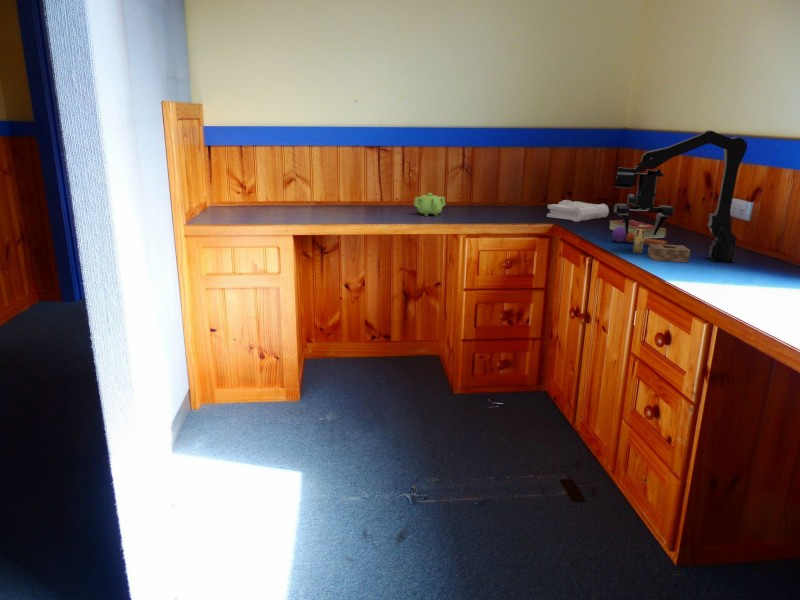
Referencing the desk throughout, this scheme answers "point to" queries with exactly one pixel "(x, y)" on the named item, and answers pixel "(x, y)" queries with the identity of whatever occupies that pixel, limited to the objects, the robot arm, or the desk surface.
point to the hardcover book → (638, 225)
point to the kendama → (631, 237)
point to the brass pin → (638, 240)
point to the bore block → (668, 253)
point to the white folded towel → (577, 210)
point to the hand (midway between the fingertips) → (640, 234)
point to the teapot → (429, 204)
